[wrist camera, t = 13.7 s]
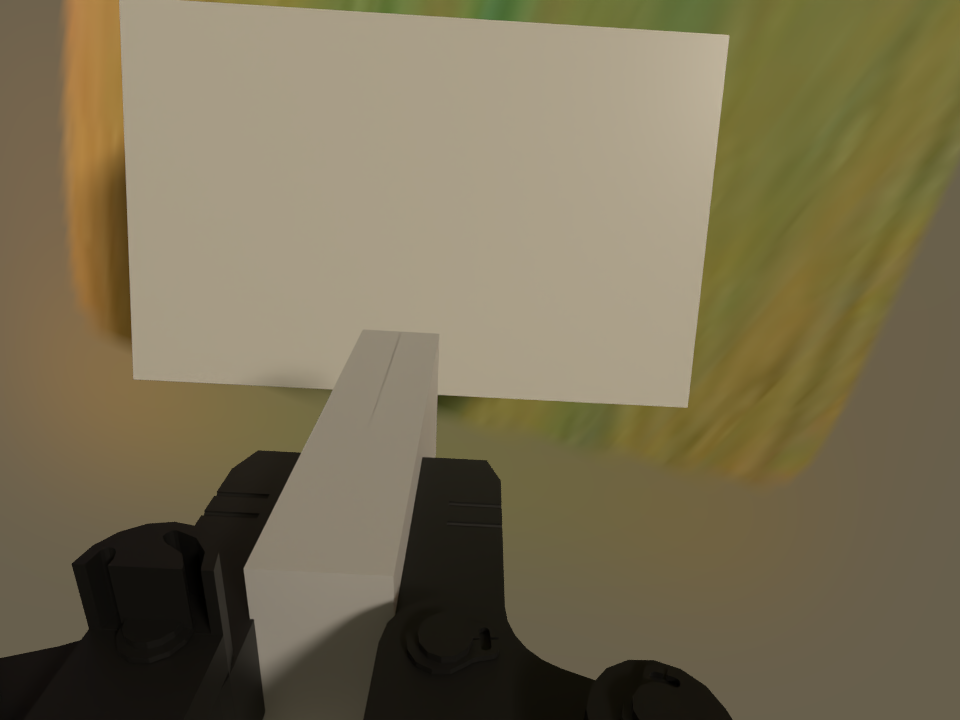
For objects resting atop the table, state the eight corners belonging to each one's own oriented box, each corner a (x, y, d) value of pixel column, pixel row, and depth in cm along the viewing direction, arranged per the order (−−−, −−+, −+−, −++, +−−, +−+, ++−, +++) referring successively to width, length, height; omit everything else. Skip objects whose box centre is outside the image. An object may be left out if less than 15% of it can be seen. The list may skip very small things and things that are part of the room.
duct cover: (147, 374, 19) (133, 379, 18) (135, 8, 18) (119, -4, 17) (678, 401, 20) (687, 407, 19) (717, 45, 18) (729, 35, 17)
